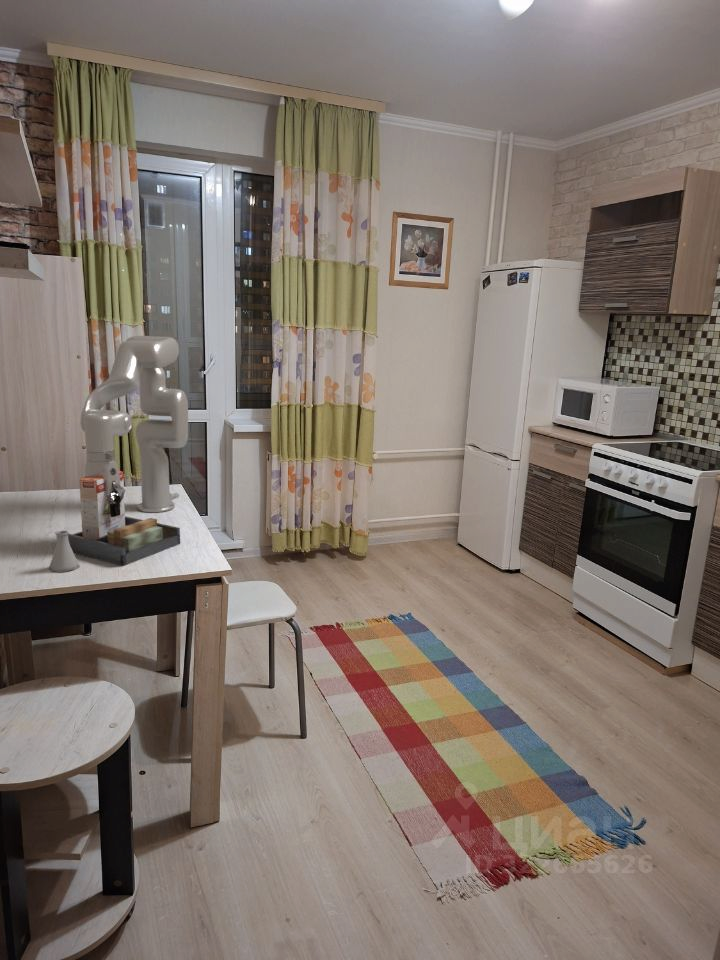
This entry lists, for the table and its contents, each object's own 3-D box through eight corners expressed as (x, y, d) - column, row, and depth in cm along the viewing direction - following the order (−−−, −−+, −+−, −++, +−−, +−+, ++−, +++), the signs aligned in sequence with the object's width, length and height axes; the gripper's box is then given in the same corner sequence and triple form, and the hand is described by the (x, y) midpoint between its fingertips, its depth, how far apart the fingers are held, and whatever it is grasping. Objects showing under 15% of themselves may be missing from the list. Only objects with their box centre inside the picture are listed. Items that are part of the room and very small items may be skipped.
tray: (117, 529, 207) (116, 514, 206) (180, 543, 196) (179, 527, 195) (57, 548, 188) (56, 532, 187) (123, 565, 177) (122, 548, 176)
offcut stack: (145, 542, 197) (144, 516, 195) (164, 546, 193) (163, 520, 192) (108, 555, 185) (107, 528, 183) (128, 560, 181) (126, 532, 180)
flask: (60, 574, 169) (57, 538, 167) (43, 568, 173) (40, 532, 171) (85, 566, 175) (82, 531, 173) (68, 561, 179) (65, 526, 177)
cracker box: (101, 551, 187) (96, 480, 183) (82, 549, 189) (77, 478, 184) (127, 536, 201) (124, 470, 196) (109, 535, 202) (105, 468, 197)
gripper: (132, 458, 188) (134, 515, 192) (89, 451, 196) (93, 506, 200) (111, 462, 182) (114, 521, 185) (68, 455, 189) (72, 512, 193)
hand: (103, 513), depth 192 cm, fingers open, 9 cm apart
